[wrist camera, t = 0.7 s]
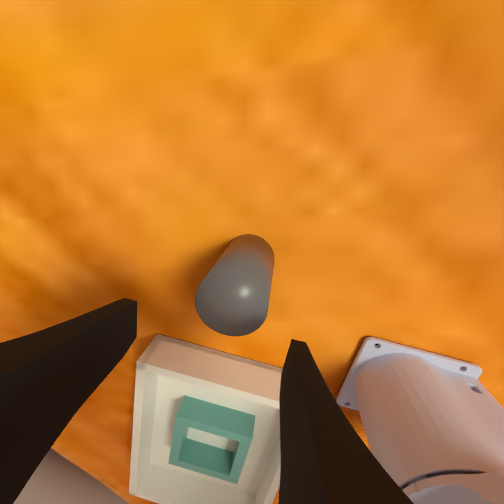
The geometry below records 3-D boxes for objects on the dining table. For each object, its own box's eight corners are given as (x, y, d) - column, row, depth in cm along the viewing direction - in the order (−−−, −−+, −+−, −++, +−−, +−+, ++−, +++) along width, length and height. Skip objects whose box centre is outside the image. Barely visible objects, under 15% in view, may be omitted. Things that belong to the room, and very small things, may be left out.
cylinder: (279, 241, 19) (276, 282, 12) (267, 285, 20) (258, 343, 14) (229, 229, 19) (200, 263, 12) (221, 273, 20) (190, 325, 14)
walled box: (309, 375, 23) (313, 411, 20) (261, 494, 30) (257, 534, 27) (157, 333, 24) (136, 361, 20) (145, 459, 31) (128, 494, 27)
